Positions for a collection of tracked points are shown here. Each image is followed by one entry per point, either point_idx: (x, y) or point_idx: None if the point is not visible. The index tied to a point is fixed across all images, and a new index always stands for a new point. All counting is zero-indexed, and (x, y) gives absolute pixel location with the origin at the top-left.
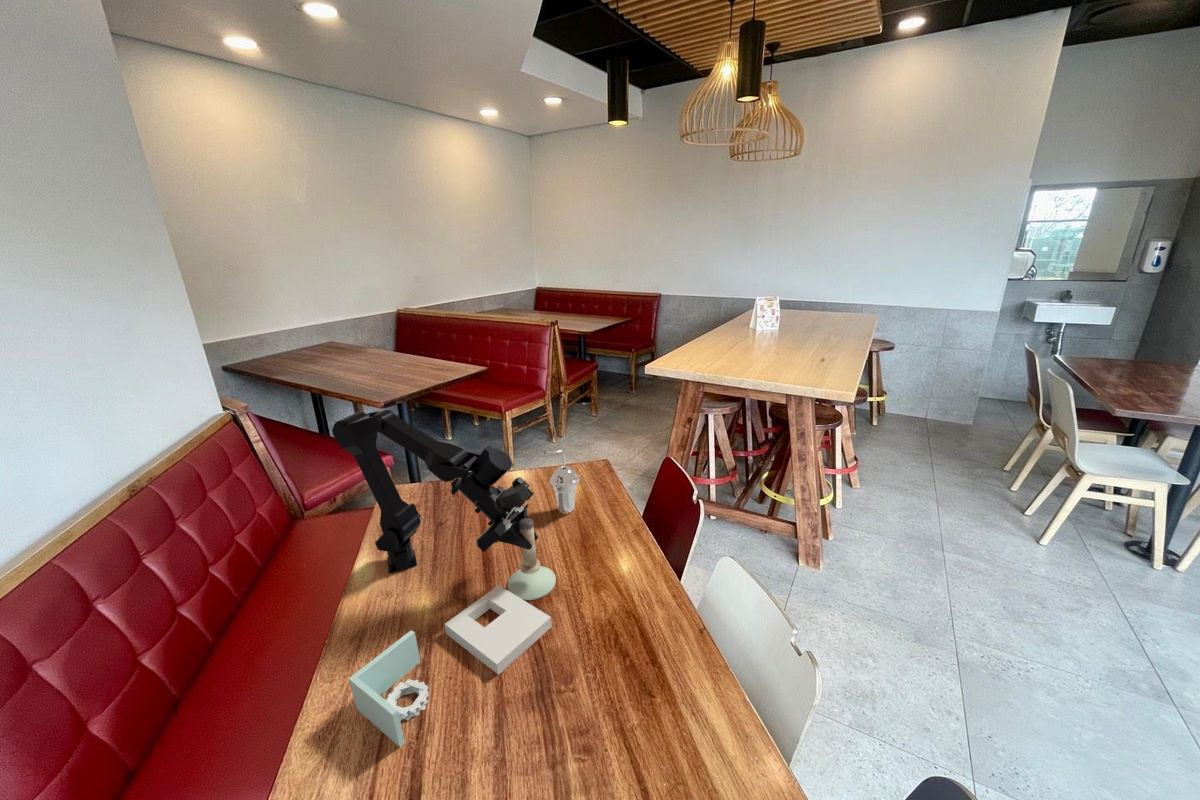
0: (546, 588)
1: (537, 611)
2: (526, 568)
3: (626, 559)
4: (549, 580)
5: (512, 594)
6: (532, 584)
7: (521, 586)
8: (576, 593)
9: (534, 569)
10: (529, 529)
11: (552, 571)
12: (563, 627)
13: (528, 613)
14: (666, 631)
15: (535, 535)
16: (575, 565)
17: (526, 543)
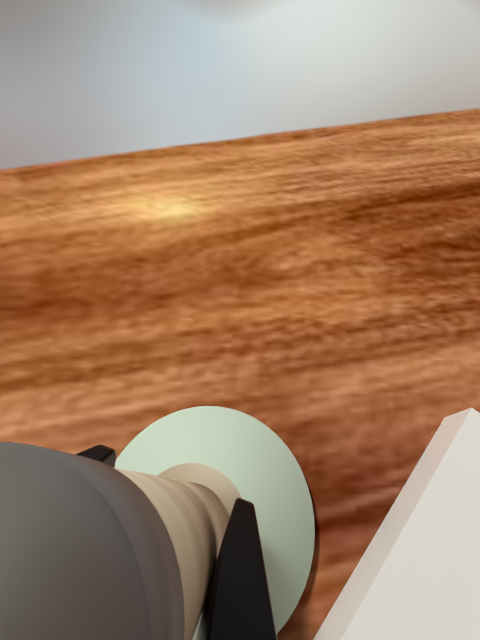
0: (257, 443)
1: (454, 468)
2: None
3: (146, 203)
4: (210, 432)
5: (353, 630)
6: None
7: None
8: (279, 336)
9: (238, 493)
10: (169, 539)
11: (156, 421)
12: (438, 377)
13: (474, 513)
14: (407, 160)
15: None
16: (134, 337)
17: (263, 574)
